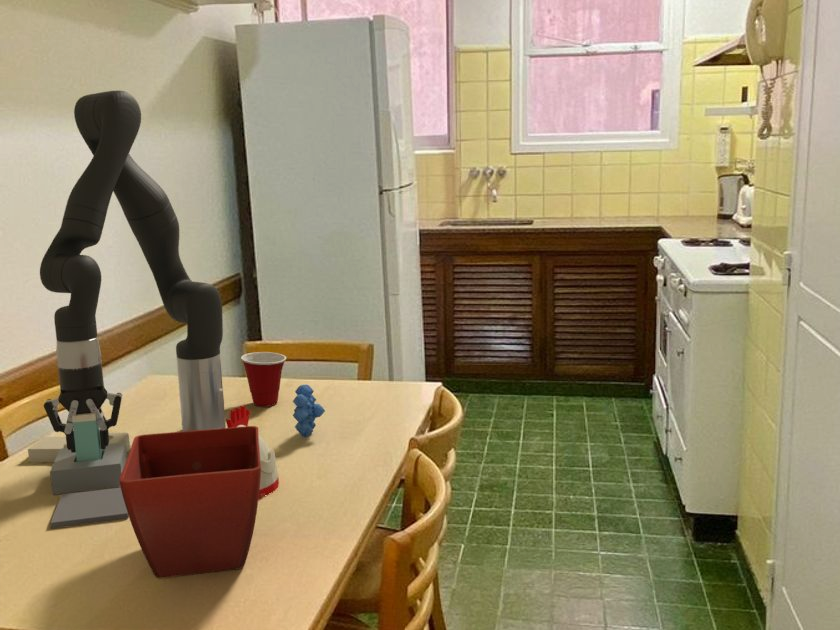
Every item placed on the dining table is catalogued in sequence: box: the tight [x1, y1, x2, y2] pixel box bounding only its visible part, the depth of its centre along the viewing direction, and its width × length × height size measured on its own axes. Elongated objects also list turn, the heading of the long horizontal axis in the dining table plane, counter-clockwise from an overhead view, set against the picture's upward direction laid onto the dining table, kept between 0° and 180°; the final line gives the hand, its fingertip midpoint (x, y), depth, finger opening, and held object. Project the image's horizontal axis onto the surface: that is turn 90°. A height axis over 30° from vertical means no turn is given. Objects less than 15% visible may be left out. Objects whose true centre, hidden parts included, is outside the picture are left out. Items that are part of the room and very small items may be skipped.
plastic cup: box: [240, 351, 287, 408], centre depth 201 cm, size 11×11×12 cm
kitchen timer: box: [225, 405, 280, 499], centre depth 150 cm, size 14×14×15 cm
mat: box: [50, 487, 129, 529], centre depth 143 cm, size 12×12×1 cm
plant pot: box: [119, 425, 261, 579], centre depth 124 cm, size 19×19×17 cm
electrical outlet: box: [27, 432, 131, 463], centre depth 169 cm, size 7×4×18 cm
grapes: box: [292, 384, 326, 438], centre depth 176 cm, size 12×7×12 cm, turn 176°
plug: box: [72, 413, 103, 462], centre depth 156 cm, size 4×4×13 cm
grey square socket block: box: [49, 442, 128, 496], centre depth 157 cm, size 12×12×4 cm
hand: (88, 449), depth 156 cm, fingers open, 4 cm apart
